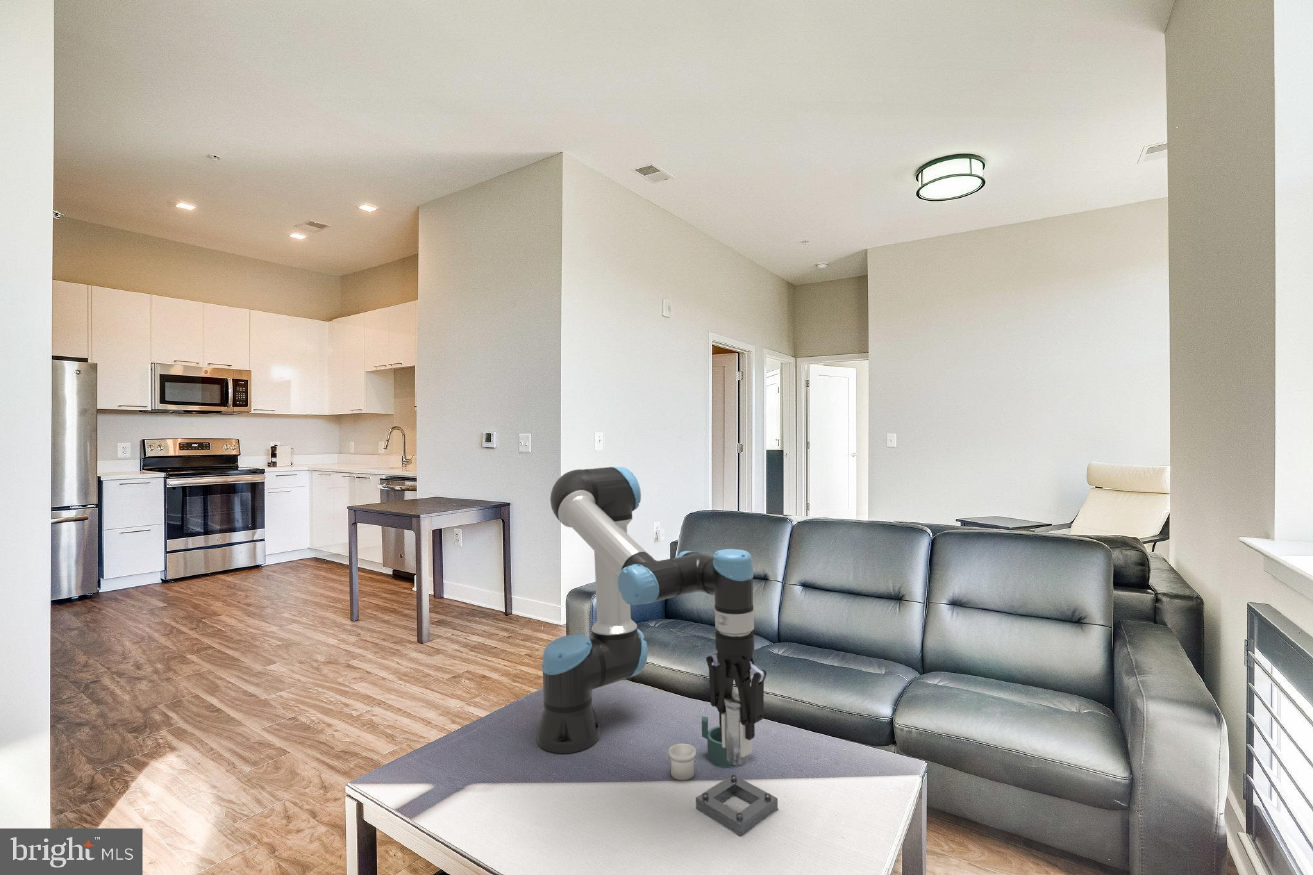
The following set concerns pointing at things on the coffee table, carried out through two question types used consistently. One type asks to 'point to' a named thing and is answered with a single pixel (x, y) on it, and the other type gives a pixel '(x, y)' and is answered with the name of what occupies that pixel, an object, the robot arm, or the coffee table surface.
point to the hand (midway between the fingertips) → (737, 749)
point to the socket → (730, 818)
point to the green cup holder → (715, 745)
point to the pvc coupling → (682, 761)
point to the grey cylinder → (733, 729)
